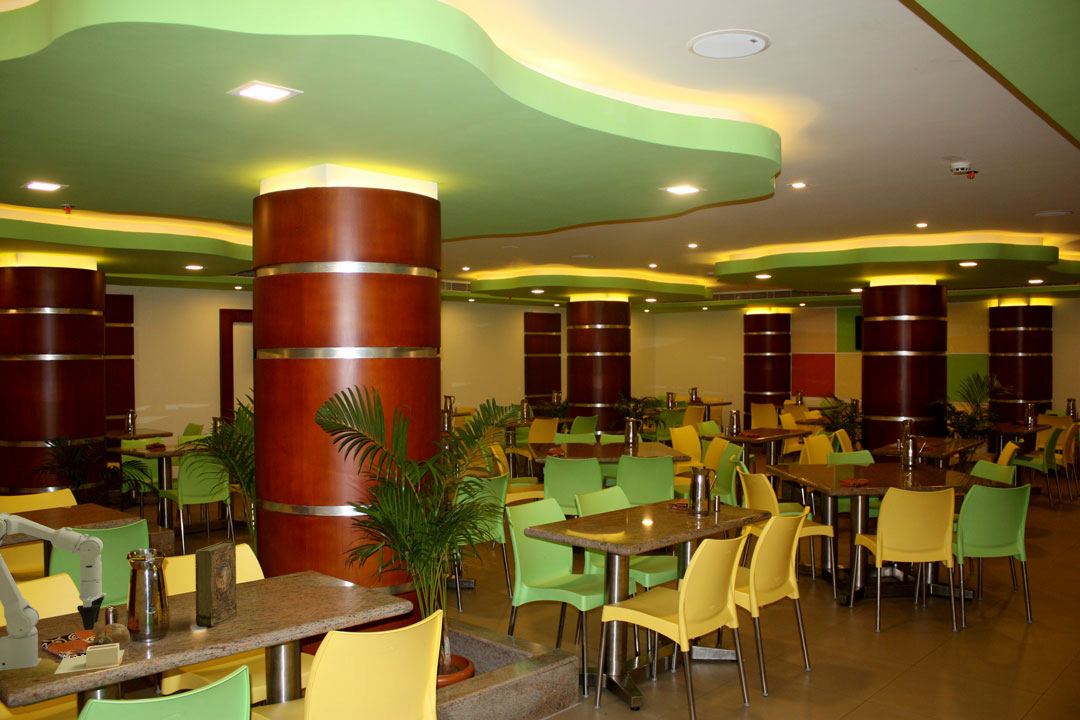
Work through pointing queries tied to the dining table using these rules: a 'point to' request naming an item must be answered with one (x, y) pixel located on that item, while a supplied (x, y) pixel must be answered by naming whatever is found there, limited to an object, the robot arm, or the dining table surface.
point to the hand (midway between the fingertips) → (91, 626)
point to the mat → (82, 664)
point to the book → (215, 583)
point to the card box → (102, 655)
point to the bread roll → (112, 635)
